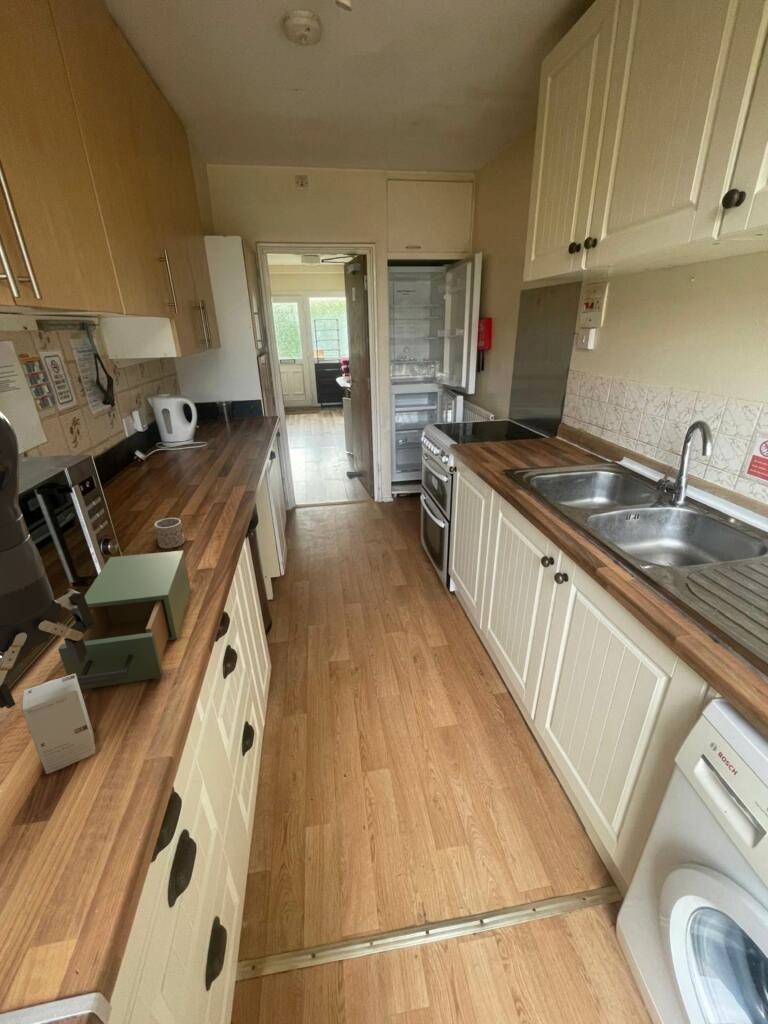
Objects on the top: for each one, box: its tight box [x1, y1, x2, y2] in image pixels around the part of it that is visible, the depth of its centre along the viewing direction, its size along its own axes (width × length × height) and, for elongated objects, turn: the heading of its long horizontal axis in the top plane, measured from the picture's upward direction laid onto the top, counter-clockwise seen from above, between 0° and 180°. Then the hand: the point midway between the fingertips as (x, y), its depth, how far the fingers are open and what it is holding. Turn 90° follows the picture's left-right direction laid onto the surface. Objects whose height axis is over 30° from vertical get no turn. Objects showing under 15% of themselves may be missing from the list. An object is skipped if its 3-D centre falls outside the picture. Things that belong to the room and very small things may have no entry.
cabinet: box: [84, 550, 192, 641], centre depth 89 cm, size 18×15×11 cm
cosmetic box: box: [21, 674, 96, 775], centre depth 60 cm, size 6×4×12 cm
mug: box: [154, 517, 186, 549], centre depth 121 cm, size 10×7×7 cm, turn 57°
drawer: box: [57, 599, 170, 691], centre depth 76 cm, size 22×14×9 cm, turn 14°
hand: (45, 681), depth 57 cm, fingers open, 8 cm apart
